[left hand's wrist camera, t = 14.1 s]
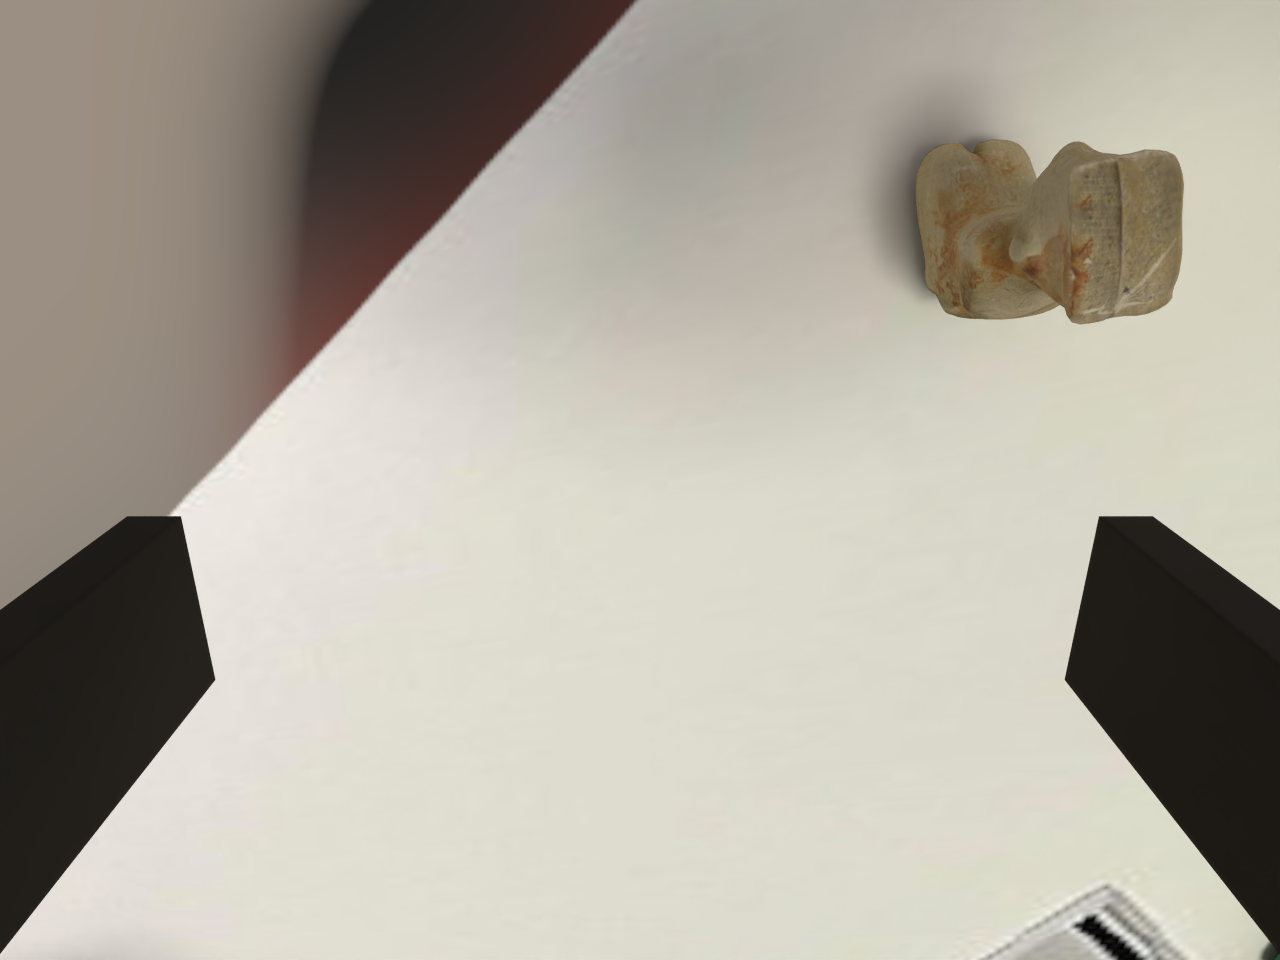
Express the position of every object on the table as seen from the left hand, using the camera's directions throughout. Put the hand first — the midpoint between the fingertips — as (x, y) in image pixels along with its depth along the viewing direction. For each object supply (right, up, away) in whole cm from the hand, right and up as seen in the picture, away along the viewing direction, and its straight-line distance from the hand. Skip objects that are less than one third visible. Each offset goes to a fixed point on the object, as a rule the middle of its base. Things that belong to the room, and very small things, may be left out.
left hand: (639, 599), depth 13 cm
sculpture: (+15, +14, +28) cm, 34 cm away
